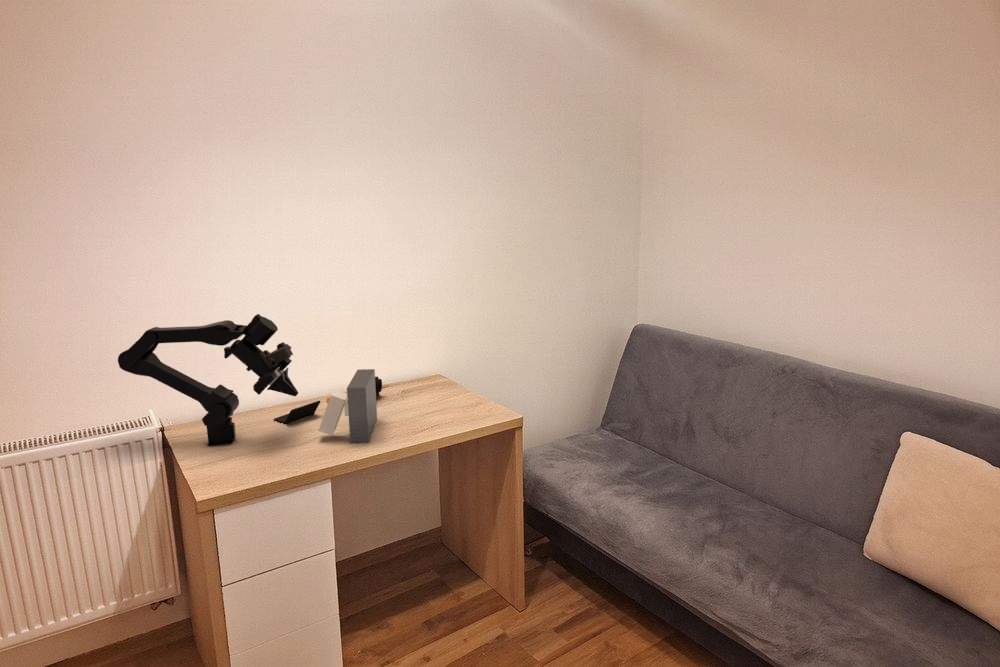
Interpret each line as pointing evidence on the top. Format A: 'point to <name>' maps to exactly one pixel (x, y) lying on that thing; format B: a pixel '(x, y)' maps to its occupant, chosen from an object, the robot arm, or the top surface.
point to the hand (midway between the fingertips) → (297, 394)
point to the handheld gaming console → (298, 413)
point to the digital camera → (378, 386)
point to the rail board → (361, 406)
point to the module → (332, 412)
